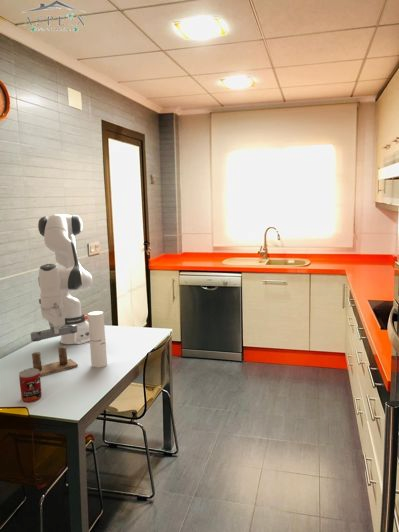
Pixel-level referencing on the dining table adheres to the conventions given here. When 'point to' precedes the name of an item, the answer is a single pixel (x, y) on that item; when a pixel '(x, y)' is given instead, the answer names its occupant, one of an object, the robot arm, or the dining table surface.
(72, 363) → the spanner rest
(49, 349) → the dining table surface
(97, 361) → the cylindrical container
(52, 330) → the metal bar
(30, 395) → the canned food
